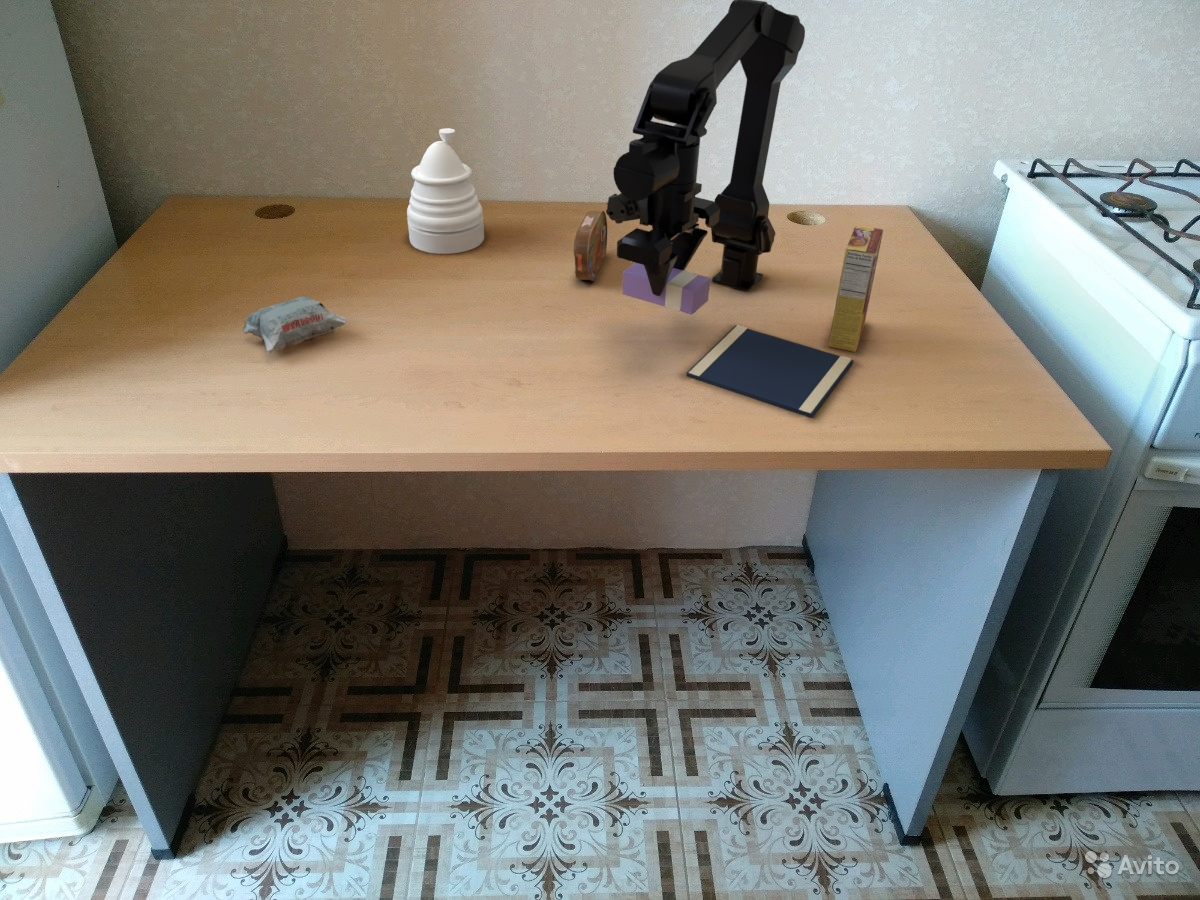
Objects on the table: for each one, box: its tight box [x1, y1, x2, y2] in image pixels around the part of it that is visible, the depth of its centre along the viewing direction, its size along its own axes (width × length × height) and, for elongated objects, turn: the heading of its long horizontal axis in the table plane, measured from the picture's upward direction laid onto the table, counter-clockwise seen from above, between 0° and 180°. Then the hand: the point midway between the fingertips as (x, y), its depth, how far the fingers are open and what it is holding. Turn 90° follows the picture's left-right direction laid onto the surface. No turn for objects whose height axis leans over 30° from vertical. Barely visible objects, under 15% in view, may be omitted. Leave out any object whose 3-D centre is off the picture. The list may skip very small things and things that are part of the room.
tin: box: [573, 210, 608, 282], centre depth 144 cm, size 15×3×8 cm, turn 168°
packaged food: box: [242, 295, 348, 354], centre depth 124 cm, size 9×12×5 cm
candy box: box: [827, 225, 884, 353], centre depth 126 cm, size 9×4×15 cm, turn 158°
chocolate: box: [622, 262, 711, 316], centre depth 123 cm, size 5×11×4 cm, turn 58°
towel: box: [686, 324, 854, 419], centre depth 122 cm, size 16×18×1 cm
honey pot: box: [406, 127, 485, 255], centre depth 149 cm, size 13×13×18 cm
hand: (665, 287), depth 123 cm, fingers closed on chocolate, 5 cm apart
